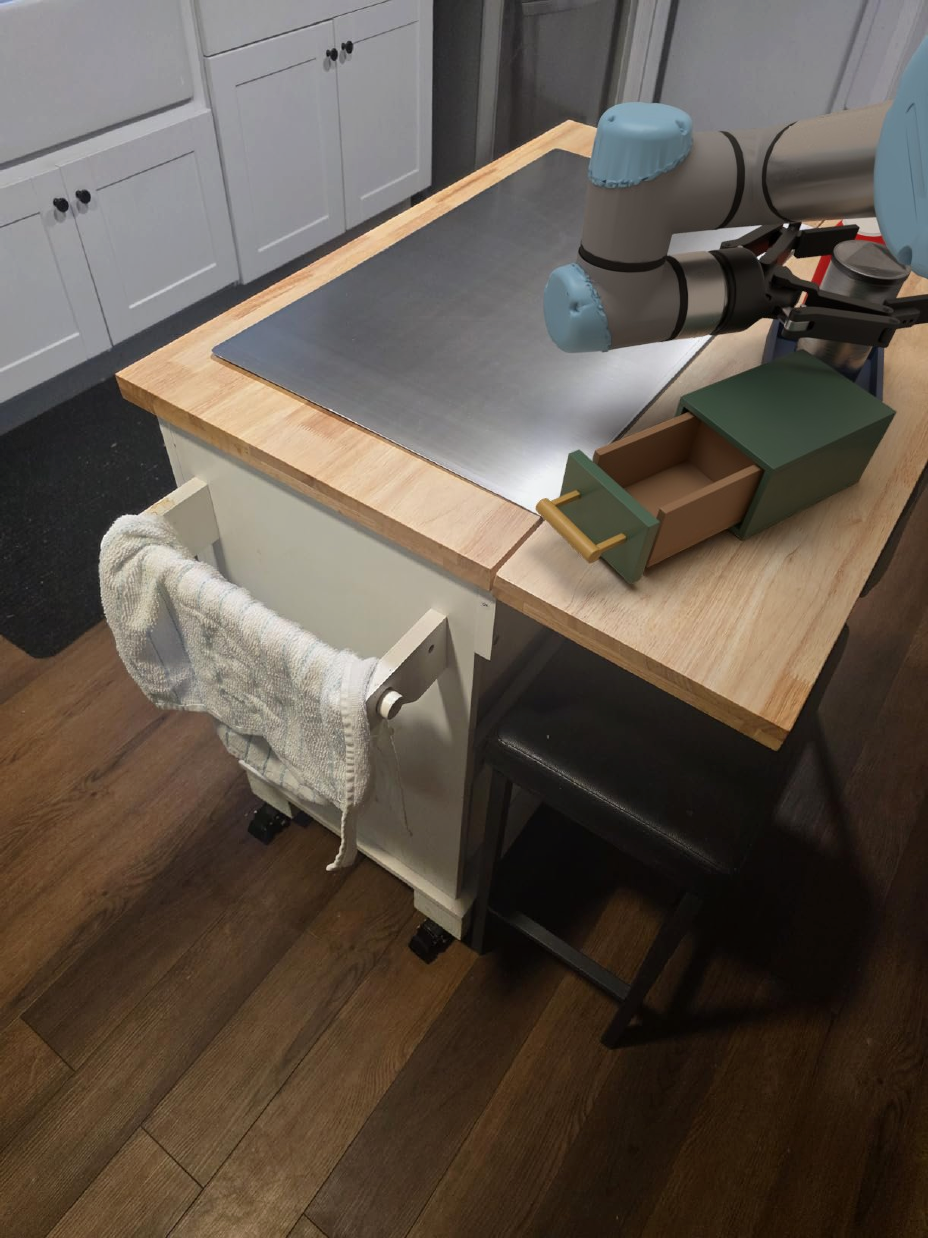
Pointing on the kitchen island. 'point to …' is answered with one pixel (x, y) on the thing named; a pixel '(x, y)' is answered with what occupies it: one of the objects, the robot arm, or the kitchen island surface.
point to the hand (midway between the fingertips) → (893, 271)
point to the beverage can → (866, 232)
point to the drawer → (652, 494)
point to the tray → (866, 379)
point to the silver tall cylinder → (863, 277)
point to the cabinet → (793, 431)
